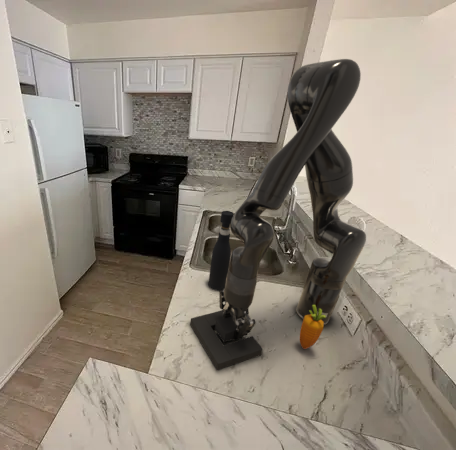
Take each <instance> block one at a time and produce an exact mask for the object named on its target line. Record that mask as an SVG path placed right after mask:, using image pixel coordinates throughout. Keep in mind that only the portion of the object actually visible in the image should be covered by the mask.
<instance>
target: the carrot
mask: <svg viewBox="0 0 456 450" xmlns="http://www.w3.org/2000/svg"><path fill="white" fill-rule="evenodd" d="M312 307H313V311H314V314H313V312H312V311H311V310H309V311H310V313H311V315H305V316H304V319H302V323H301V327H300V330H299V343H300V346H301V348H302V349H304V350H306V349H309V348H311V347H313V346H314V345H315V343H316V342H318V340H319V338H320V336H321V335H322V332H323V330H324V326H325V325H324V322H323V321H322V320H321V319H323V318H326V316H325V315H322V310H321V309H319V311H318V316H317V309H316V305H312Z"/></svg>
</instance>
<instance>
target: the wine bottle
mask: <svg viewBox="0 0 456 450" xmlns="http://www.w3.org/2000/svg"><path fill="white" fill-rule="evenodd" d="M234 214H235V213H234V212H233V211H230V210H223V211H221V214H220V223H221V227H220V229H219V232H218V236H217V237H218V238H217V240H216V242H215V244H214V246H213V248H212V253H211V261H210V266H209V267H210V268H209V275H208V287H209V288H210V289H212V290H214V291H217V292H218V291H221V290H225V284H226V277H227V273H228V270H229V265H230V259H231V255H232V249H231V243H230V239H231V238H230V237H231V228H230V224H231V220H232V217H233V215H234Z"/></svg>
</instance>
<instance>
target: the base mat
mask: <svg viewBox="0 0 456 450" xmlns="http://www.w3.org/2000/svg"><path fill="white" fill-rule="evenodd" d="M230 314H231V316H233V315H232V313H230ZM219 319H223V310H222V309H220V310H218V311H214V312H210V313H206V314H202V315H199V316H195V317H191V318H190V322H189V323H190V324H189V325H190V326H191V328H192V330H193V332H194V333H195V335H196V337H197V338H198V340H199V342H200V343H201V345H202V347H203V349H204V350H205V353H206V354H207V356H208V357H209V359H210V360H211V363H212V364H213V366H214V368H215V369H216V371H219V370H222V369H225V368H228V367H230V366H233V365H236V364H239V363H242V362H246V361H248V360H250V359H254V358H257V357H260V356H262V354H263V351H264V349H263V347H262V346H261V345H260V343H259V342H258V341H257V340H256V338H255V337H254V336H253V335H251V336H247V337H244V338H241V339H239V340H234V341H231V342H229V343H226V344H223V341H222V340H221V338H220V337H219V335H218V334H217V332H216V330H215V324H216V320H219Z"/></svg>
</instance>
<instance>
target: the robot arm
mask: <svg viewBox="0 0 456 450" xmlns="http://www.w3.org/2000/svg"><path fill="white" fill-rule="evenodd" d="M361 73H362V72H361V68H360V67H359V64H358V63H357V62H356V61H355V60H353V59H351V58H338V59H332V60H326V61H325V60H324V61H318V62H312V63H308V64H304V65H302V66H300V67H299V68H297V69H296V70H295V71H294V73H293V74H292V75H291V78H290V79H289V83H288V85H287V103H288V107H289V111H290V115H291V117H292V120H293V121H292V122H293V123H294V127H295V129H296V132H295V134H294V135H293V136H292V137H291V139H289V141H288V142H287V143H285V145H283V147H281V148H280V149H279V150H278V151H277V152H276V153H275V154H274V155H273V156H272V157H271V158H270V160H269V161H268V162H267V163H266V164H265V166H264V167H263V169H262V171H261V173H260V175H259V176H258V179H257V181H256V183H255V185H254V187H253V190H252V192H251V193H250V194H249V195H248V196H247V198H246V199H245V200H244V201H243V202H242V204H240V206H239V207H238V209H236V211H235V212H234V213H233V214H234V215H233V217H232V220H231V224H230V228H229V229H230V233H232V234H233V236H234V237H236V238H237V239H238V240H239V241H241V242H242V243H243V244H244V245H243V246H237V247H235V248H234V249H233V250H232V251H231V257H230V263H229V269H228V273H227V277H226V284H225V289H223V290H220V291H219V293H218V294H219V295H218V296H219V297H218V300H219V309H220V310H223V318H227V317H231V314H230V313H232V315H233V322H234V323H235V332H234V337H233V338H234V339H233V340H234V341H238V340H241V339H243V337H242V335H245V334H248V335H249V334H250V333H251V331H252V330H253V328H254V327H255V325H256V324H257V323H256V322H257V321H256V319H255V318H252V317H250V315H249V313H250V312H249V308H250V307H251V305H252V303H253V300H254V297H255V292H256V287H257V283H258V273H259V270H260V266H261V265H260V264H261V261H262V260H263V259H264V257H265V256H266V253H267V252H268V250H269V249H270V247H271V245H272V243H273V242H274V238H275V231H274V227H273V225H272V224H271V223H270V222H269V221H267V220H265V218H262V217H260V216H261V215H262V214H263V213H264V212H265V211H266V210H269V211H278V210H280V209H281V208H282V206H283V204H284V203H285V201H286V199H287V198H288V195H289V193H290V192H291V190H292V188H293V186H294V184H295V182H296V180H297V179H298V177H299V175H300V174H301V172H302V170H303V169H304V168H305V177H306V182H307V187H308V192H309V195H310V196H309V198H310V203H311V210H312V211H311V212H312V226H313V227H312V228H313V230H312V231H313V238H314V241H315V243H316V244H317V245H318V246H319V247H320V248H321V249H324V251H326V252H328V253H330V254H332V257H329V256H318V257H315V258H314V259H313V260H312V262H311V264H310V266H309V270H308V272H307V277H306V279H305V282H304V285H303V288H302V291H301V295H300V297H299V300H298V303H297V305H296V307H295V312H296V314H297V316H298V317H299V318H300V319H301V320H303V319H304V316H305V315H311V313H310V311H309V310H311V311H312V312H313V314H314V311H313V307H312V305H316V309H317V316H318V311H319V309H321V310H322V315H325V316H326V318H323V319H321V320H322V321H323V322H324V326H326V325H327V324H328V323H329V321H330V319H331V318H332V315H333V313H334V310H335V309H336V305H337V303H338V302H339V299H340V294H341V292H342V290H343V288H344V285H345V283H346V280H347V277H348V275H350V273H351V272H352V270H353V269H354V267H355V265H356V263H357V261H358V259H359V257H360V255H361V253H362V251H363V249H364V247H365V245H366V242H367V234H366V232H365V231H364V230H362V229H361V228H359V227H357V226H354V225H352V224H350V223H347V222H345V221H343V220H342V219H341V218H340V216H339V209H338V208H339V206H340V204H341V203H342V202H343V201H344V200H345V199H346V198H347V197H348V195H349V194H350V193H351V191H352V189H353V186H354V171H353V161H352V158H351V156H350V153H349V152H348V150H347V149H346V147H345V146H344V144H343V143H342V141H341V140H340V139H339V138H338V136H337V135H336V134H335V132H334V131H333V128H334V127H335V125H336V123H337V122H338V121H339V120H340V118H341V117H342V116H343V115H344V114H345V111H346V110H347V108H348V107H349V105H351V103H352V101H353V99H354V98H355V96H356V94H357V92H358V89H359V87H360V83H361V78H362V77H361V75H362V74H361ZM239 318H240V319H239ZM239 324H241V326H239Z"/></svg>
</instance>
